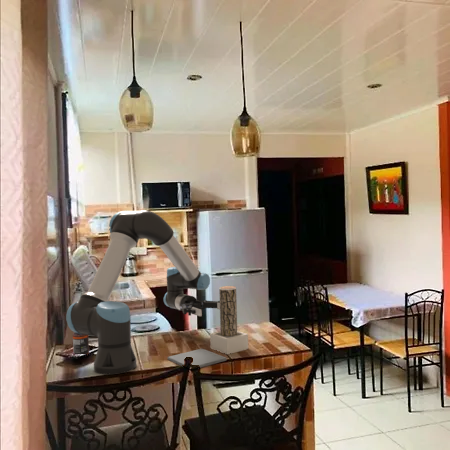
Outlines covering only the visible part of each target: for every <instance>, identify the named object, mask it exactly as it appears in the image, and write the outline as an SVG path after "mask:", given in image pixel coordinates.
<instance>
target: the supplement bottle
mask: <svg viewBox="0 0 450 450" xmlns="http://www.w3.org/2000/svg"><path fill="white" fill-rule="evenodd" d="M72 347H73V348H72V349H73V354H74V353H75V354H87V356H88V354H89V355H90V342H89V335H81V334H79V333H75V332H73V334H72Z"/></svg>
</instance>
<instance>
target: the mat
mask: <svg viewBox="0 0 450 450" xmlns="http://www.w3.org/2000/svg"><path fill="white" fill-rule="evenodd" d="M186 357H192V358H193V363H192V365H199V366H200V368H203V367H204V368H205V367H208V366H211V365H215V364H218V363H221V362H226V361H227V360H228V358H227V357H225V356H223V355H220V354H217V353H215V352H212V351H210V350H207V349H205V348H198V349H194V350H190V351H187V352H181V353H177V354H175V355H170V356H167V360H168V361H170V362H172V363H174V364H176V365H179V366H180V367H183V366H182V365H184V359H185V358H186Z"/></svg>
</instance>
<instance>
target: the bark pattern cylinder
mask: <svg viewBox="0 0 450 450" xmlns="http://www.w3.org/2000/svg"><path fill="white" fill-rule="evenodd" d="M219 301H220V310H219V319H220V320H219V323H220V325H219V326H220V327H219V328H220V332H221V336H223V337H226V338H229V337H234V336H237V331H238V309H237V304H238V303H237V287H236V286H234V285H226V286H225V285H224V286H220V287H219Z"/></svg>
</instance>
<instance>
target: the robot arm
mask: <svg viewBox="0 0 450 450" xmlns="http://www.w3.org/2000/svg"><path fill="white" fill-rule="evenodd" d="M108 226H109V228H108V229H109V230H108V231H109V233H110V234H109V237H110V243H109V244H108V247H107V249H106V251H105V254H104V255H103V257H102V259H101V262H100V264H99V266H98V269H97V271H96V273H95V275H94V278H93V279H92V281H91V284H90V286H89V288H88V290H87V292H85V293H82V294H81V295H80V297H79V300H78V301H76V302H74V303H72V304H71V305H69V307H68V309H67V311H66V315H65V316H66V317H65V319H66V323H67V326H68V328H69V330H70V331H71V332H73V333H79V334H81V335H88V336H91V337H97V344H98V345H97V351H96V355H95V358H94V362H93V371H94V372H95V373H97V374H101V375H118V374H123V373H127V372H130V371H132V370H134V369H136V368H137V364H138V363H137V357H136V355H135V353H134V350H133V347H132V336H131V335H132V334H131V333H132V332H131V331H132V330H131V327H132V325H131V320H132V319H131V318H132V317H131V309H130V307H129V305H128V304H127V303H124V302H122V301H116V300H115V301H113V300H110V297H111V295H112V293H113V291H114V289H115V287H116V283H117V281H118V279H119V277H120V274H121V272H122V270H123V268H124V265H125V263H126V260H127V258H128V256H129V253H130V252H131V249H133V248H135V247H137V245H138V242H139V241H140V240H141V239H146V240H148V241H151V242H152V243H153V244H154V246H156V247H159V248H160V249H161V250H162V252H163V253H164V254H165V256H166V257H167V258H168V260H169V262H170V263H172V265H173V266H171V267H169V268H167V269H166V288H167V289H166V290H167V291H166V293H165V294H164V296H163V303H164V305H165V306H166V307H169V308H170V309H175V310H178V311H182V313H183V315H187V316H188V317H189V316H192V315H194V316H196V317H197V316H198V317H203V316H202V315H203V314H202V313H203V310H205V309H217V310H219V311H220V300H206V299H204V300H198V299H197V297H196V296H194V295H189V294H186V293H185V294H184V289H188V290H189V289H190V290H198V291H200V290H201V291H204V290H207V289H208V288H209V286H210V284H211V278H210V275H209V274H208V273H205V272H201V271H200V270H199V269H198V267H197V265H196V264H195V263H194V260H192V259H191V257H190V256H189V254H188V253H187V251H186V250H185V249H184V248H183V246H182V244H180V242H179V241H178V239H177V238H176V237H175V235H174V234H175V232H174V230H173V229H172V227H171V226H170V224H169V223H168V222H167V221H166V220H165V219H164V218H162V217H161V216H160V215H159V214H157V213H156V212H155V211H154V212H153V211H151V210H148V209H147V210H145V209H143V210H122V211H117V212H116V213H115V214H114V215H113V216H111V219H110V220H109V224H108Z"/></svg>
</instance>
